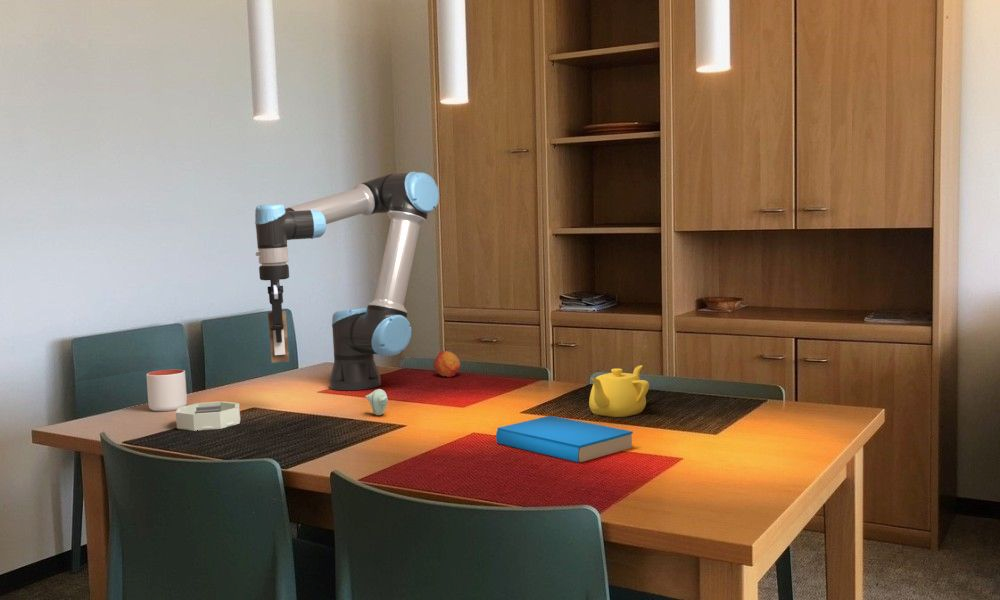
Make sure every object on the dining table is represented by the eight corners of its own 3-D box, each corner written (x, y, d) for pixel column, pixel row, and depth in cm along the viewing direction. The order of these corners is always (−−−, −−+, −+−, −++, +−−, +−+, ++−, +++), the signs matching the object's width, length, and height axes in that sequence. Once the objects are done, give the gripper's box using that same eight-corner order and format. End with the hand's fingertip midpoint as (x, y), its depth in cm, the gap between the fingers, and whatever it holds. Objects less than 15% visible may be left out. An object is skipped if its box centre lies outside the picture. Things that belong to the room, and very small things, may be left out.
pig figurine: (363, 414, 252) (362, 388, 252) (376, 412, 255) (375, 386, 254) (382, 418, 247) (381, 392, 246) (395, 416, 249) (394, 389, 249)
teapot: (624, 424, 231) (623, 378, 230) (570, 417, 242) (569, 373, 241) (673, 408, 248) (672, 365, 247) (621, 401, 258) (620, 360, 257)
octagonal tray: (241, 415, 257) (240, 399, 257) (239, 427, 242) (238, 411, 242) (179, 419, 254) (178, 404, 253) (174, 432, 239) (173, 416, 238)
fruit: (450, 373, 311) (449, 348, 310) (466, 376, 305) (465, 350, 304) (430, 376, 306) (429, 351, 305) (445, 379, 300) (444, 353, 299)
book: (549, 415, 228) (633, 429, 209) (550, 433, 228) (634, 449, 210) (494, 428, 216) (578, 444, 198) (495, 447, 217) (579, 465, 198)
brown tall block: (288, 359, 261) (285, 311, 259) (289, 361, 258) (285, 312, 257) (271, 361, 260) (267, 312, 258) (271, 362, 257) (268, 313, 256)
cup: (193, 404, 274) (191, 369, 273) (178, 412, 264) (175, 375, 263) (158, 405, 275) (156, 369, 274) (142, 412, 265) (139, 375, 264)
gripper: (258, 263, 263) (265, 350, 265) (258, 266, 248) (265, 359, 250) (287, 261, 265) (293, 348, 267) (289, 265, 249) (295, 356, 252)
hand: (279, 353), depth 259 cm, fingers closed on brown tall block, 2 cm apart
